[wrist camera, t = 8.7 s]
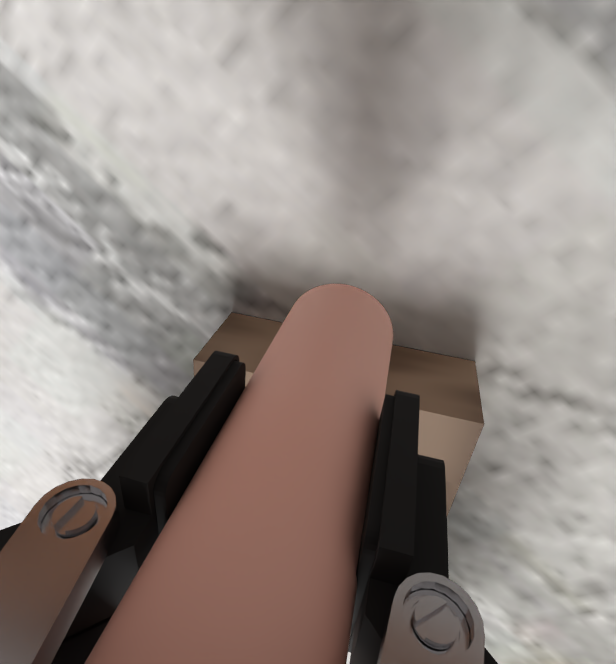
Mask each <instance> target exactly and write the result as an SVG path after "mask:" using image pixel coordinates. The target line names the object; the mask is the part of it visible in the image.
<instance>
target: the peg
mask: <svg viewBox="0 0 616 664" xmlns="http://www.w3.org/2000/svg"><path fill="white" fill-rule="evenodd" d="M392 343H393V327H392V323H391V320H390V317H389V315H388V313H387V312H386V310H385V309H384V307H383V306H382V305H381V304H380V302H379V301H378V300H376V299H375V298H374V297H373V296H372V295H370V294H369V293H367V292H365V291H363V290H361V289H359V288H356V287H354V286H350V285H345V284H325V285H321V286H317V287H315V288H312V289H310V290H309V291H307V292H305V293H304V294H303V295H302V296H300V297H299V299H298V300H297V301H296V302H295V304H294V305H293V307H292V308H291V310H290V312H289V313H288V315H287V317H286V319H285V320H284V322H283V324H282V325H281V327H280V329H279V331H278V332H277V334H276V336H275V337H274V339H273V341H272V343H271V344H270V346H269V348H268V349H267V351H266V353H265V355H264V356H263V358H262V360H261V361H260V363H259V365H258V367H257V368H256V370H255V372H254V373H253V375H252V377H251V379H250V380H249V382H248V384H247V385H246V387H245V389H244V391H243V392H242V394H241V396H240V397H239V399H238V401H237V403H236V404H235V406H234V408H233V409H232V411H231V413H230V415H229V416H228V418H227V420H226V421H225V423H224V425H223V427H222V428H221V430H220V432H219V433H218V435H217V437H216V439H215V440H214V442H213V444H212V445H211V447H210V449H209V451H208V452H207V454H206V456H205V457H204V459H203V461H202V463H201V464H200V466H199V468H198V469H197V471H196V473H195V475H194V476H193V478H192V480H191V481H190V483H189V485H188V487H187V488H186V490H185V492H184V493H183V495H182V497H181V499H180V500H179V502H178V504H177V505H176V507H175V509H174V511H173V512H172V514H171V516H170V517H169V519H168V521H167V523H166V524H165V526H164V528H163V530H162V531H161V533H160V535H159V536H158V538H157V540H156V542H155V543H154V545H153V547H152V548H151V550H150V552H149V554H148V555H147V557H146V559H145V560H144V562H143V564H142V566H141V567H140V569H139V571H138V572H137V574H136V576H135V578H134V579H133V581H132V583H131V584H130V586H129V588H128V590H127V591H126V593H125V595H124V596H123V598H122V600H121V602H120V603H119V605H118V607H117V608H116V610H115V612H114V614H113V615H112V617H111V619H110V620H109V622H108V624H107V626H106V627H105V629H104V631H103V632H102V634H101V636H100V638H99V639H98V641H97V643H96V644H95V646H94V648H93V650H92V651H91V653H90V655H89V656H88V658H87V660H86V662H85V663H84V664H346V660H347V653H348V646H349V640H350V633H351V626H352V619H353V612H354V605H355V598H356V591H357V577H356V570H357V564H358V557H359V550H360V544H361V537H362V531H363V524H364V517H365V511H366V504H367V498H368V491H369V484H370V478H371V471H372V465H373V458H374V451H375V445H376V438H377V432H378V425H379V419H380V414H381V410H382V406H383V402H384V398H385V391H386V384H387V377H388V370H389V363H390V356H391V350H392Z"/></svg>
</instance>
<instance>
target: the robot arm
mask: <svg viewBox="0 0 616 664" xmlns="http://www.w3.org/2000/svg"><path fill="white" fill-rule="evenodd" d="M245 376H246V365H245V363H243V362H239V356H238V355H234V354H230V353H225V352H221V351H214V352H213V353H212V354H211V356H210V357H209V358H208V360H207V361H206V362H205V363H204V365H203V366H202V367H201V369H200V370H199V371H198V373H197V374H196V375H195V377H194V378H193V379H192V380H191V382H190V383H189V384H188V386H187V387H186V388H185V390H184V391H183V392H182V393H181V395H180V396H179V397H176V396H170V397H168V398H167V399H166V400H165V401H164V402H163V403H162V405H161V406H160V407H159V408H158V410H157V411H156V412H155V413H154V415H153V416H152V417H151V418H150V420H149V421H148V422H147V423H146V425H145V426H144V427H143V428H142V430H141V431H140V432H139V433H138V435H137V436H136V437H135V438H134V440H133V441H132V442H131V443H130V445H129V446H128V447H127V448H126V450H125V451H124V452H123V453H122V455H121V456H120V457H119V458H118V460H117V461H116V462H115V463H114V465H113V466H112V467H111V468H110V470H109V471H108V472H107V473H106V475H105V476H104V477H103V478H102V480H101V481H99V480H96V479H78V480H73V481H68V482H66V483H64V484H61V485H59V486H57V487H55V488H53V489H52V490H51V491H49V492H48V493H46V494H45V495H44V496H43V497H42V498H41V499H40V500H39V501H38V502H37V503H36V504H35V505H34V507H33V508H32V509H31V511H30V512H29V513H28V515H27V516H26V518H25V519H24V520H23V522H22V523H19V524H16V525H14V526H11V527H8V528H5V529H2V530H0V664H84V663H85V662H86V660H87V658H88V656H89V655H90V653H91V651H92V650H93V648H94V646H95V644H96V643H97V641H98V639H99V638H100V636H101V634H102V632H103V631H104V629H105V627H106V626H107V624H108V622H109V620H110V619H111V617H112V615H113V614H114V612H115V610H116V608H117V607H118V605H119V603H120V602H121V600H122V598H123V596H124V595H125V593H126V591H127V590H128V588H129V586H130V584H131V583H132V581H133V579H134V578H135V576H136V574H137V572H138V571H139V569H140V567H141V566H142V564H143V562H144V560H145V559H146V557H147V555H148V554H149V552H150V550H151V548H152V547H153V545H154V543H155V542H156V540H157V538H158V536H159V535H160V533H161V531H162V530H163V528H164V526H165V524H166V523H167V521H168V519H169V517H170V516H171V514H172V512H173V511H174V509H175V507H176V505H177V504H178V502H179V500H180V499H181V497H182V495H183V493H184V492H185V490H186V488H187V487H188V485H189V483H190V481H191V480H192V478H193V476H194V475H195V473H196V471H197V469H198V468H199V466H200V464H201V463H202V461H203V459H204V457H205V456H206V454H207V452H208V451H209V449H210V447H211V445H212V444H213V442H214V440H215V439H216V437H217V435H218V433H219V432H220V430H221V428H222V427H223V425H224V423H225V421H226V420H227V418H228V416H229V415H230V413H231V411H232V409H233V408H234V406H235V404H236V403H237V401H238V399H239V397H240V396H241V394H242V392H243V391H244V389H245ZM419 409H420V395H417V394H412V393H408V392H403V391H399V390H396V391H395V394H394V396H392V395H388V394H385V398H384V402H383V406H382V410H381V414H380V419H379V425H378V432H377V438H376V445H375V451H374V458H373V465H372V471H371V478H370V484H369V491H368V498H367V504H366V511H365V517H364V524H363V531H362V537H361V544H360V550H359V557H358V564H357V570H356V577H357V591H356V598H355V605H354V612H353V619H352V626H351V633H350V641H349V648H348V652H351V658H350V664H498V663H497V662H496V661H495V660H494V658H493V657H492V656H491V655H490V653H489V652H488V651H487V650H486V648H485V647H484V645H485V634H484V625H483V620H482V618H481V615H480V613H479V610H478V608H477V606H476V604H475V603H474V602H473V600H472V599H471V597H470V596H469V594H468V593H467V592H466V591H465V590H463V589H462V588H461V587H460V586H459V585H458V584H457V583H455V582H453V581H452V580H450V579H449V575H448V542H447V510H446V477H445V463H444V460H440V459H436V458H432V457H428V456H423V455H419V454H418V435H419Z"/></svg>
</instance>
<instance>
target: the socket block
mask: <svg viewBox="0 0 616 664" xmlns="http://www.w3.org/2000/svg"><path fill="white" fill-rule="evenodd" d="M282 324H283V323H282V322H277V321H272V320H267V319H262V318H257V317H252V316H247V315H242V314H237V313H231V314H230V315H229V316H228V318H227V319H226V320H225V321H224V323H223V324H222V325H221V326H220V327H219V329H218V330H217V331H216V332H215V334H214V335H213V336H212V337H211V339H210V340H209V341H208V342H207V343H206V345H205V346H204V347H203V348H202V350H201V351H200V352H199V353H198V355H197V356H196V357H195V358H194V360H193V363H194V377H195V375H196V374H197V373H198V371H199V370H200V369H201V367H202V366H203V365H204V363H205V362H206V361H207V360H208V358H209V357H210V356H211V354H212V353H213V352H214V351H221V352H225V353H230V354H234V355H238V356H239V362H243V363H245V365H246V376H245V387H246V385H247V384H248V382H249V380H250V379H251V377H252V375H253V373H254V372H255V370H256V368H257V367H258V365H259V363H260V361H261V360H262V358H263V356H264V355H265V353H266V351H267V349H268V348H269V346H270V344H271V343H272V341H273V339H274V337H275V336H276V334H277V332H278V331H279V329H280V327H281V325H282ZM396 390H399V391H403V392H408V393H412V394H417V395H420V409H419V435H418V454H419V455H423V456H428V457H432V458H436V459H440V460H444V463H445V477H446V510H447V515H448V513H449V510H450V508H451V505H452V503H453V500H454V498H455V495H456V493H457V490H458V488H459V485H460V483H461V480H462V478H463V475H464V473H465V470H466V468H467V465H468V463H469V461H470V458H471V456H472V453H473V451H474V448H475V446H476V443H477V441H478V438H479V436H480V433H481V431H482V428H483V426H484V420H483V413H482V406H481V399H480V392H479V386H478V379H477V372H476V365H475V361H470V360H465V359H460V358H455V357H450V356H445V355H440V354H435V353H431V352H426V351H421V350H416V349H411V348H406V347H401V346H396V345H392V350H391V356H390V363H389V370H388V377H387V384H386V391H385V394H388V395H392V396H394V394H395V391H396Z"/></svg>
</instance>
